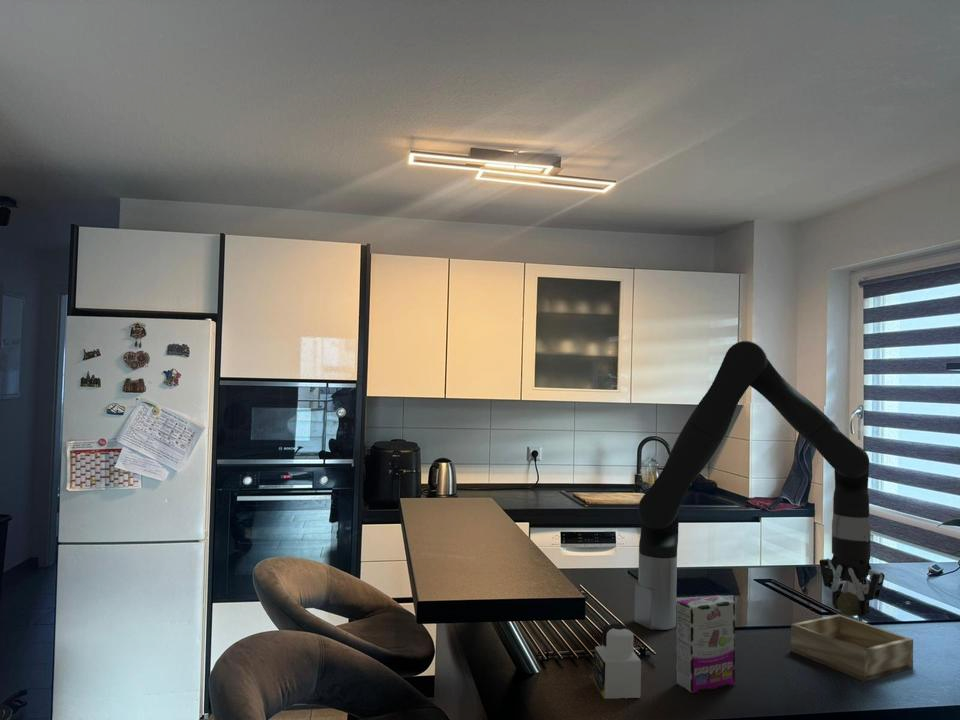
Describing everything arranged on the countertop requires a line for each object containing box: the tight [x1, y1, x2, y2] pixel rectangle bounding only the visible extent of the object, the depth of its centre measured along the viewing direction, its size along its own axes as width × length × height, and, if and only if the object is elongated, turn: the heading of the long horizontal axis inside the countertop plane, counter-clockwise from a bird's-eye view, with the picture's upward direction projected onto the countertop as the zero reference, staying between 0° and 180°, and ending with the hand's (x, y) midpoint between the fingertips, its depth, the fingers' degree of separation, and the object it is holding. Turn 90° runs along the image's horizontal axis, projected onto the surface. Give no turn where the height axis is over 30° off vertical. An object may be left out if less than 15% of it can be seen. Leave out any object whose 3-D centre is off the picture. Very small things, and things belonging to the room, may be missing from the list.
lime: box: [837, 591, 860, 617], centre depth 146 cm, size 4×5×5 cm
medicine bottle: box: [593, 623, 642, 700], centre depth 127 cm, size 7×7×12 cm
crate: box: [790, 613, 914, 683], centre depth 146 cm, size 17×17×6 cm
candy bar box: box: [675, 594, 736, 694], centre depth 131 cm, size 11×5×16 cm, turn 114°
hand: (850, 612), depth 146 cm, fingers closed on lime, 5 cm apart
